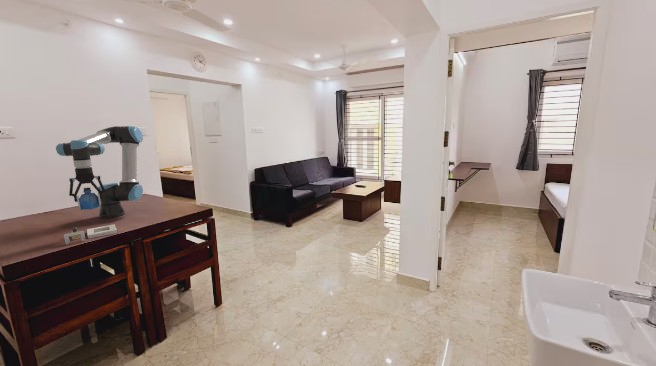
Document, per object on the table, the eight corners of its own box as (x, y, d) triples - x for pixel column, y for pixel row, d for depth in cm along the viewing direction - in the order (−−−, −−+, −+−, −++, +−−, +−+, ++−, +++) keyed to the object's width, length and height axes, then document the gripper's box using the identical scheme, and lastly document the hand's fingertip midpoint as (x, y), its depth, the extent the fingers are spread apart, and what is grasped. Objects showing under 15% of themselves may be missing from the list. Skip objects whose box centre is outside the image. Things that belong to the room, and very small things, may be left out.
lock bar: (72, 236, 165) (70, 227, 164) (79, 234, 166) (77, 226, 166) (72, 239, 159) (70, 231, 158) (79, 238, 161) (77, 230, 160)
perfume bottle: (89, 206, 168) (85, 187, 166) (99, 206, 168) (96, 186, 166) (80, 209, 162) (76, 189, 160) (91, 209, 162) (88, 189, 160)
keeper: (65, 243, 153) (64, 234, 152) (85, 239, 159) (83, 230, 158) (65, 244, 152) (63, 235, 151) (85, 240, 157) (84, 231, 156)
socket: (87, 232, 170) (86, 229, 170) (115, 227, 179) (114, 224, 179) (88, 238, 160) (87, 235, 160) (117, 232, 169) (116, 229, 169)
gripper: (57, 169, 151) (64, 210, 155) (107, 166, 165) (113, 203, 169) (58, 168, 157) (65, 207, 161) (106, 165, 170) (112, 201, 175)
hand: (90, 205), depth 165 cm, fingers closed on perfume bottle, 9 cm apart
